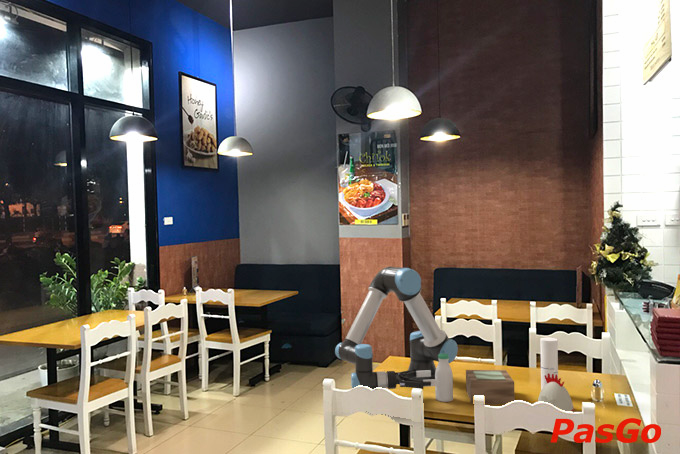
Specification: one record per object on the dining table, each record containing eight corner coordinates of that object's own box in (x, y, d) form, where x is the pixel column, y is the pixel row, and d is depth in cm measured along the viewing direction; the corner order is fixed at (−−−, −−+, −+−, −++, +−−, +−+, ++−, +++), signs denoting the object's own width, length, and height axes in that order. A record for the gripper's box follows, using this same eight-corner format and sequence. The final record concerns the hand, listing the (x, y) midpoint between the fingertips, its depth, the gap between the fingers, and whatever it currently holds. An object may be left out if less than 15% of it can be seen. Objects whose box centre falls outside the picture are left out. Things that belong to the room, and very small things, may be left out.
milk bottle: (453, 402, 237) (452, 356, 237) (435, 401, 239) (434, 356, 238) (453, 396, 245) (452, 352, 244) (435, 396, 246) (434, 351, 246)
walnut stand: (466, 390, 252) (465, 369, 252) (506, 390, 250) (505, 369, 250) (471, 404, 234) (471, 381, 234) (514, 404, 233) (514, 381, 232)
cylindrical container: (539, 392, 247) (538, 337, 247) (554, 392, 247) (554, 337, 247) (544, 397, 240) (543, 341, 240) (560, 397, 240) (559, 340, 239)
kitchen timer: (547, 402, 235) (547, 367, 235) (579, 410, 225) (578, 373, 224) (531, 410, 226) (530, 374, 225) (563, 419, 215) (562, 381, 215)
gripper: (382, 380, 252) (428, 377, 253) (391, 398, 227) (441, 395, 228) (382, 363, 251) (427, 361, 253) (390, 380, 227) (441, 377, 228)
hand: (434, 377), depth 240 cm, fingers open, 13 cm apart
